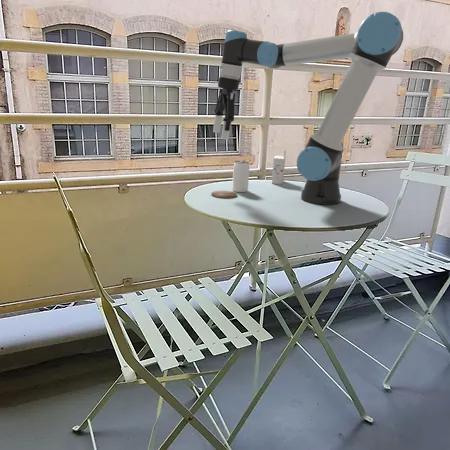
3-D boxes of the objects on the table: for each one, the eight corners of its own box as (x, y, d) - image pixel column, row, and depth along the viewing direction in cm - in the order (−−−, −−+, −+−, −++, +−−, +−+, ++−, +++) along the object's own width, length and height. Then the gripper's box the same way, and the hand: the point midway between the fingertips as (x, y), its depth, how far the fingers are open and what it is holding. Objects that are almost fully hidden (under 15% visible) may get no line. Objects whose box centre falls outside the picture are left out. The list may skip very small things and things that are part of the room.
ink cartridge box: (272, 180, 186) (275, 148, 181) (283, 181, 185) (286, 149, 180) (271, 183, 178) (274, 151, 173) (282, 184, 177) (285, 151, 172)
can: (238, 188, 166) (240, 159, 162) (250, 191, 162) (252, 162, 158) (228, 190, 161) (230, 161, 158) (241, 193, 157) (243, 163, 154)
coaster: (241, 197, 152) (242, 195, 152) (219, 199, 147) (219, 197, 147) (228, 191, 160) (228, 189, 160) (206, 193, 155) (206, 191, 155)
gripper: (212, 73, 153) (204, 128, 161) (228, 78, 131) (218, 141, 139) (230, 77, 155) (221, 130, 163) (249, 81, 133) (238, 143, 141)
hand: (220, 135), depth 151 cm, fingers open, 13 cm apart
